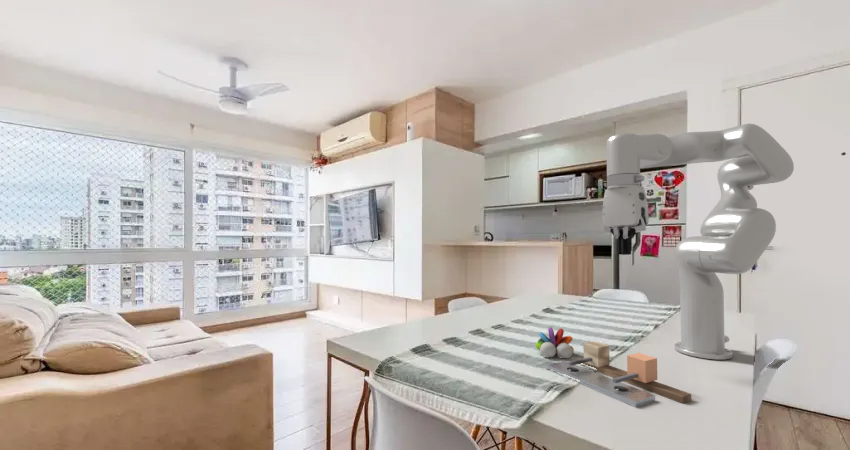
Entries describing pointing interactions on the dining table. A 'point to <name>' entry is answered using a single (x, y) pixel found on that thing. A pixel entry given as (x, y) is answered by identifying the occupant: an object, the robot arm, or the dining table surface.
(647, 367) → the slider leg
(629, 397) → the bolt-hole strip
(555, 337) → the rainbow fan toy
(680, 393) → the rail
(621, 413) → the dining table surface
